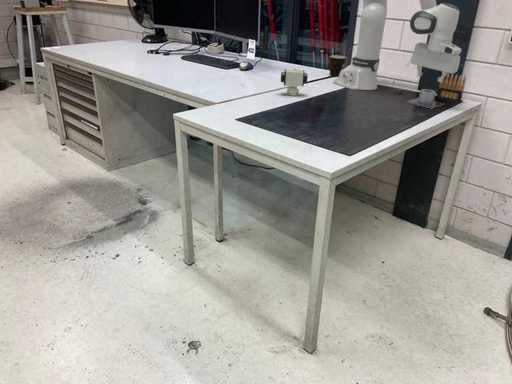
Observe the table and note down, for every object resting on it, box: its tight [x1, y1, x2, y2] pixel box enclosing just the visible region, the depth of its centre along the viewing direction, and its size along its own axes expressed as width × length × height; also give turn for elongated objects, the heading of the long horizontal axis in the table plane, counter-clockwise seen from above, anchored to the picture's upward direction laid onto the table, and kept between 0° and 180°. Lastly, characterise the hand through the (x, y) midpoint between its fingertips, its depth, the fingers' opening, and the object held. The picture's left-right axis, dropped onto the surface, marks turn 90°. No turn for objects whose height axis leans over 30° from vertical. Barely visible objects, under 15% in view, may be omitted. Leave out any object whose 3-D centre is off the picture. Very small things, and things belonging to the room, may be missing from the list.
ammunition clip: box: [435, 73, 467, 101], centre depth 190 cm, size 11×2×12 cm, turn 55°
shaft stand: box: [405, 97, 446, 110], centre depth 184 cm, size 12×12×5 cm
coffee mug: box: [329, 54, 347, 78], centre depth 226 cm, size 12×9×10 cm
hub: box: [418, 88, 437, 104], centre depth 183 cm, size 6×6×5 cm
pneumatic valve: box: [280, 67, 308, 97], centre depth 187 cm, size 6×12×12 cm, turn 89°
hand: (429, 79), depth 180 cm, fingers open, 8 cm apart
